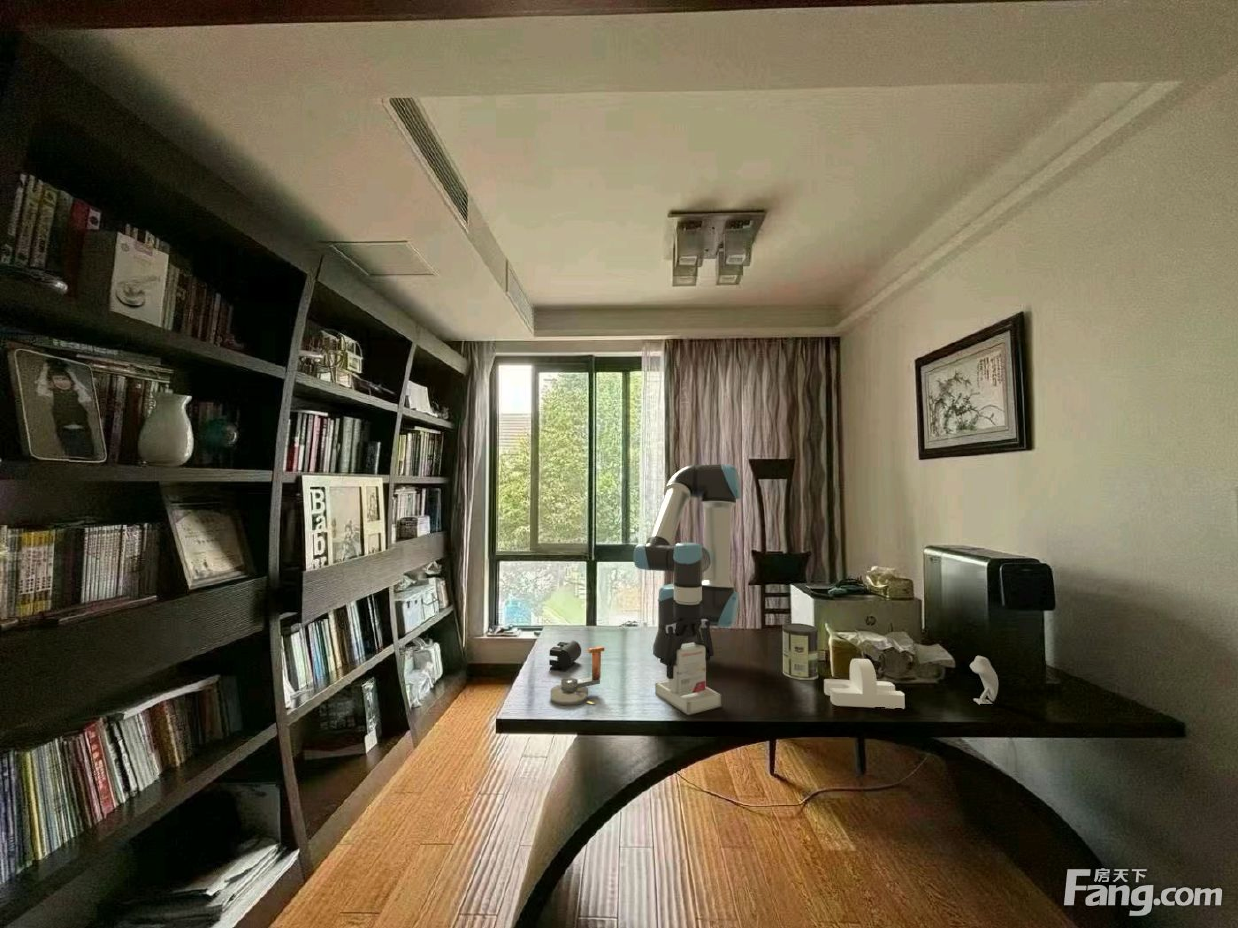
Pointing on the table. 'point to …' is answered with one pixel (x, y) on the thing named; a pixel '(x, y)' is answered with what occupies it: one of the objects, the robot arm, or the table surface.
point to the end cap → (564, 655)
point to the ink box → (690, 669)
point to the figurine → (985, 679)
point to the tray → (689, 698)
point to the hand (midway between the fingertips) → (687, 686)
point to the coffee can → (800, 651)
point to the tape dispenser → (863, 688)
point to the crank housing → (569, 696)
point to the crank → (574, 684)
